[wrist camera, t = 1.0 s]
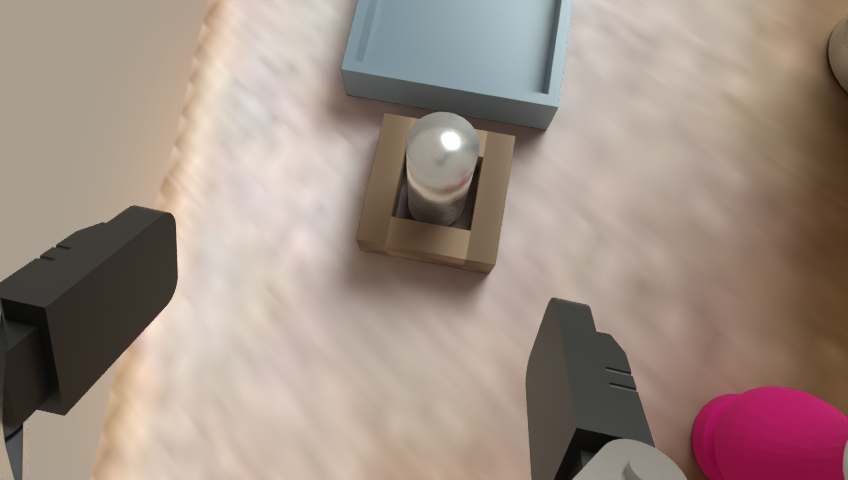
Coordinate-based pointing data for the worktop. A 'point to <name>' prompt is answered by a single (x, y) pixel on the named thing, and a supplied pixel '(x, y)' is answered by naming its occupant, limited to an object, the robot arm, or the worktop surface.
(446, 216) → the pin
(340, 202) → the worktop surface
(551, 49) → the parts tray
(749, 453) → the pepper mill
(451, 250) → the socket block
